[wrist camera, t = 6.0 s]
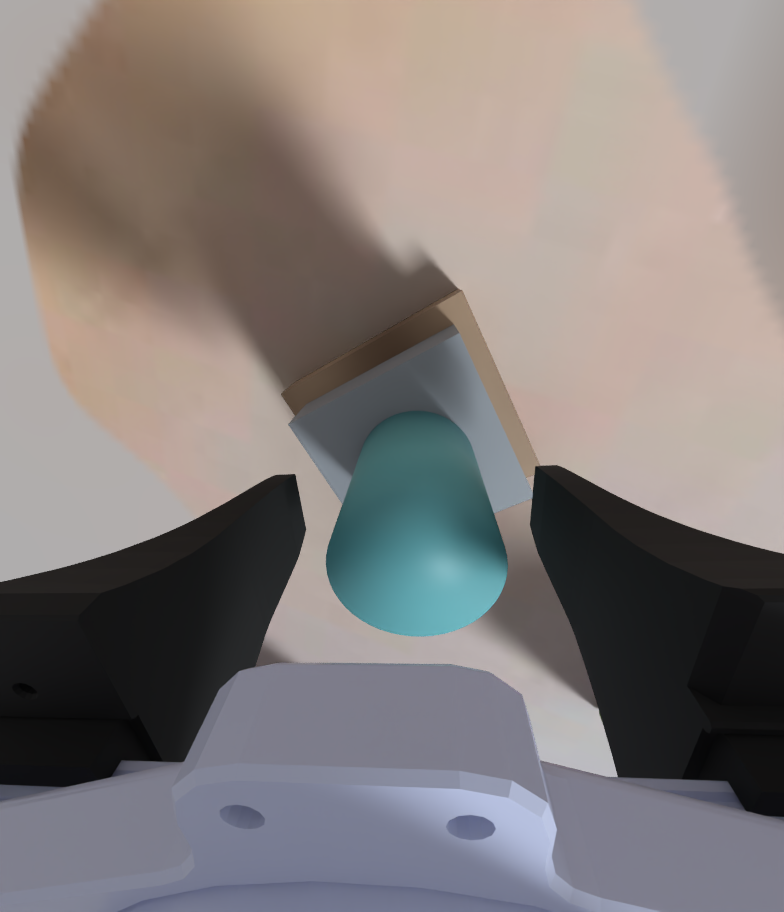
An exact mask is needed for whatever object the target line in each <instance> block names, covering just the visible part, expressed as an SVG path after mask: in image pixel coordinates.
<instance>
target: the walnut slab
mask: <svg viewBox="0 0 784 912" xmlns="http://www.w3.org/2000/svg"><path fill="white" fill-rule="evenodd" d="M453 324H454V325H455V327H456V328H457V330H458V331H459V333H460V335H461V337H462V340H463V342H464V344H465V346H466V348H467V350H468V353H469V355H470V357H471V359H472V361H473V364H474V366H475V368H476V370H477V372H478V374H479V377H480V379H481V381H482V383H483V385H484V387H485V390H486V392H487V394H488V396H489V398H490V401H491V403H492V405H493V407H494V409H495V411H496V414H497V416H498V418H499V420H500V422H501V425H502V427H503V429H504V431H505V433H506V435H507V438H508V440H509V442H510V444H511V446H512V449H513V451H514V453H515V455H516V457H517V459H518V462H519V464H520V466H521V468H522V470H523V472H524V475H525V477H526V478H527V477H530V476H532V475H534V474H535V466H540V464H539V462H538V459H537V457H536V455H535V453H534V450H533V448H532V446H531V444H530V441H529V439H528V437H527V435H526V432H525V430H524V428H523V426H522V423H521V421H520V419H519V417H518V414H517V412H516V410H515V408H514V405H513V403H512V401H511V399H510V396H509V394H508V392H507V390H506V387H505V385H504V383H503V381H502V378H501V376H500V374H499V372H498V369H497V367H496V365H495V363H494V360H493V358H492V356H491V354H490V351H489V349H488V347H487V345H486V342H485V340H484V338H483V336H482V333H481V331H480V329H479V327H478V324H477V322H476V320H475V318H474V316H473V313H472V311H471V309H470V307H469V304H468V302H467V300H466V298H465V295H464V293H463V291H462V290H460V289H457V290H455V291H454V292H452V293H450V294H448V295H447V296H445V297H443V298H441V299H440V300H438V301H436V302H434V303H433V304H431V305H429V306H427V307H426V308H424V309H422V310H420V311H419V312H417V313H415V314H413V315H412V316H410V317H408V318H406V319H405V320H403V321H401V322H400V323H398V324H396V325H394V326H393V327H391V328H389V329H387V330H386V331H384V332H382V333H380V334H379V335H377V336H375V337H373V338H372V339H370V340H368V341H366V342H365V343H363V344H361V345H359V346H358V347H356V348H354V349H352V350H351V351H349V352H347V353H345V354H344V355H342V356H340V357H338V358H337V359H335V360H333V361H332V362H330V363H328V364H326V365H325V366H323V367H321V368H319V369H318V370H316V371H314V372H312V373H311V374H309V375H307V376H305V377H304V378H302V379H300V380H298V381H297V382H295V383H293V384H292V385H291V386H290V387H289V388H287V389H286V390H285V391H284V392H283V393H282V394H281V395H282V397H283V398H284V400H285V401H286V403H287V404H288V405H289V407H290V408H291V410H292V411H293V413H294V414H295V416H296V415H297V414H298V413H299V412H300V410H301V409H302V408H303V407H304V406H305V405H306V404H307V403H309V402H311V401H313V400H315V399H317V398H319V397H320V396H322V395H324V394H326V393H328V392H330V391H331V390H333V389H335V388H337V387H339V386H341V385H343V384H344V383H346V382H348V381H350V380H352V379H354V378H355V377H357V376H359V375H361V374H363V373H365V372H366V371H368V370H370V369H372V368H374V367H376V366H378V365H379V364H381V363H383V362H385V361H387V360H389V359H390V358H392V357H394V356H396V355H398V354H400V353H402V352H403V351H405V350H407V349H409V348H411V347H413V346H414V345H416V344H418V343H420V342H422V341H424V340H426V339H427V338H429V337H431V336H433V335H435V334H437V333H438V332H440V331H442V330H444V329H446V328H448V327H450V326H451V325H453Z"/></svg>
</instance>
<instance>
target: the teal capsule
mask: <svg viewBox="0 0 784 912" xmlns="http://www.w3.org/2000/svg"><path fill="white" fill-rule="evenodd" d="M326 568H327V575H328V578H329V581H330V584H331V586H332V588H333V591H334V592H335V594H336V596H337V597H338V599H339V600H340V601H341V602H342V604H343V605H344V606H345V607H346V608H347V609H348V610H349V611H350V612H351V613H352V614H354V615H355V616H356V617H358V618H359V619H361V620H362V621H364V622H366V623H367V624H369V625H371V626H373V627H376V628H378V629H380V630H384V631H387V632H390V633H394V634H399V635H406V636H434V635H439V634H445V633H448V632H452V631H455V630H457V629H460V628H463V627H465V626H467V625H468V624H470V623H472V622H474V621H475V620H477V619H478V618H480V617H481V616H482V615H483V614H485V613H486V612H487V611H488V610H489V609H490V608H491V607H492V605H493V604H494V603H495V602H496V600H497V599H498V597H499V596H500V594H501V592H502V589H503V587H504V585H505V581H506V577H507V569H508V563H507V554H506V550H505V546H504V543H503V540H502V537H501V534H500V531H499V528H498V525H497V522H496V519H495V515H494V512H493V509H492V506H491V503H490V500H489V497H488V494H487V491H486V488H485V485H484V482H483V479H482V476H481V473H480V470H479V467H478V463H477V460H476V457H475V454H474V451H473V448H472V446H471V443H470V441H469V439H468V438H467V436H466V435H465V433H464V432H463V431H462V430H461V429H460V428H459V427H458V426H457V425H456V424H455V423H453V422H452V421H451V420H449V419H447V418H445V417H443V416H441V415H438V414H436V413H431V412H427V411H408V412H402V413H399V414H396V415H393V416H391V417H389V418H387V419H385V420H384V421H382V422H381V423H380V424H378V425H377V426H376V427H375V428H374V429H373V430H372V431H371V432H370V434H369V435H368V437H367V438H366V440H365V442H364V444H363V447H362V450H361V453H360V456H359V458H358V461H357V464H356V467H355V470H354V473H353V476H352V479H351V481H350V484H349V487H348V490H347V493H346V496H345V499H344V502H343V505H342V507H341V510H340V513H339V516H338V519H337V522H336V525H335V528H334V530H333V533H332V536H331V539H330V542H329V545H328V549H327V554H326Z"/></svg>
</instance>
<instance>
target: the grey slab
mask: <svg viewBox="0 0 784 912" xmlns="http://www.w3.org/2000/svg"><path fill="white" fill-rule="evenodd" d="M408 411H427V412H431V413H436V414H438V415H441V416H443V417H445V418H447V419H449V420H451V421H452V422H453V423H455V424H456V425H457V426H458V427H459V428H460V429H461V430H462V431H463V432H464V433H465V435H466V436H467V438H468V439H469V441H470V443H471V446H472V448H473V451H474V454H475V457H476V460H477V463H478V467H479V470H480V473H481V476H482V479H483V482H484V485H485V488H486V491H487V494H488V497H489V500H490V503H491V506H492V509H493V512H494V513H496V512H499V511H501V510H504V509H506V508H509V507H511V506H514V505H516V504H519V503H521V502H524V501H526V500H529V499H532V497H533V492H532V490H531V488H530V486H529V483H528V481H527V479H526V477H525V475H524V472H523V470H522V468H521V466H520V464H519V462H518V459H517V457H516V455H515V453H514V451H513V449H512V446H511V444H510V442H509V440H508V438H507V435H506V433H505V431H504V429H503V427H502V425H501V422H500V420H499V418H498V416H497V414H496V411H495V409H494V407H493V405H492V403H491V401H490V398H489V396H488V394H487V392H486V390H485V387H484V385H483V383H482V381H481V379H480V377H479V374H478V372H477V370H476V368H475V366H474V364H473V361H472V359H471V357H470V355H469V353H468V350H467V348H466V346H465V344H464V342H463V340H462V337H461V335H460V333H459V331H458V330H457V328H456V327H455V325H454V324H453V325H451V326H450V327H448V328H446V329H444V330H442V331H440V332H438V333H437V334H435V335H433V336H431V337H429V338H427V339H426V340H424V341H422V342H420V343H418V344H416V345H414V346H413V347H411V348H409V349H407V350H405V351H403V352H402V353H400V354H398V355H396V356H394V357H392V358H390V359H389V360H387V361H385V362H383V363H381V364H379V365H378V366H376V367H374V368H372V369H370V370H368V371H366V372H365V373H363V374H361V375H359V376H357V377H355V378H354V379H352V380H350V381H348V382H346V383H344V384H343V385H341V386H339V387H337V388H335V389H333V390H331V391H330V392H328V393H326V394H324V395H322V396H320V397H319V398H317V399H315V400H313V401H311V402H309V403H307V404H306V405H305V406H304V407H303V408H302V409H301V410H300V412H299V413H298V414H297V415H296V416H295V417H294V418H293V419H292V421H291V422H290V423H289V424H288V425H289V426H290V428H291V429H292V431H293V432H294V434H295V435H296V437H297V438H298V440H299V441H300V443H301V444H302V445H303V447H304V448H305V450H306V451H307V453H308V454H309V456H310V457H311V459H312V460H313V462H314V463H315V465H316V466H317V467H318V469H319V470H320V472H321V473H322V475H323V476H324V478H325V479H326V481H327V482H328V484H329V485H330V487H331V488H332V490H333V491H334V492H335V494H336V495H337V497H338V498H339V500H340V501H341V503H342V504H343V502H344V499H345V496H346V493H347V490H348V487H349V484H350V481H351V479H352V476H353V473H354V470H355V467H356V464H357V461H358V458H359V456H360V453H361V450H362V447H363V444H364V442H365V440H366V438H367V437H368V435H369V434H370V432H371V431H372V430H373V429H374V428H375V427H376V426H377V425H378V424H380V423H381V422H382V421H384V420H385V419H387V418H389V417H391V416H393V415H396V414H399V413H402V412H408Z"/></svg>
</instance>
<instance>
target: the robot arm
mask: <svg viewBox="0 0 784 912" xmlns="http://www.w3.org/2000/svg"><path fill="white" fill-rule="evenodd" d="M530 527H531V530H532V534H533V537H534V541H535V544H536V547H537V551H538V554H539V556H540V558H541V561H542V563H543V565H544V567H545V569H546V572H547V574H548V576H549V578H550V580H551V582H552V585H553V587H554V589H555V591H556V593H557V595H558V597H559V600H560V602H561V604H562V606H563V608H564V610H565V613H566V615H567V617H568V619H569V622H570V624H571V626H572V629H573V631H574V634H575V637H576V640H577V643H578V646H579V649H580V652H581V655H582V658H583V661H584V664H585V666H586V670H587V673H588V676H589V679H590V682H591V685H592V689H593V692H594V695H595V698H596V701H597V705H598V708H599V711H600V715H601V718H602V722H603V725H604V729H605V732H606V735H607V739H608V742H609V746H610V749H611V753H612V756H613V760H614V764H615V767H616V771H617V775H618V777H605V776H601V775H597V774H593V773H589V772H585V771H581V770H577V769H573V768H569V767H565V766H561V765H557V764H553V763H549V762H544V761H540V759H539V755H538V751H537V747H536V742H535V738H534V734H533V730H532V726H531V722H530V719H529V715H528V712H527V709H526V706H525V703H524V700H523V696H522V694H521V693H519V692H518V691H516V690H515V689H513V688H512V687H511V686H509V685H508V684H506V683H505V682H503V681H502V680H501V679H499V678H498V677H496V676H495V675H493V674H492V673H490V672H488V671H483V670H478V669H473V668H467V667H462V666H457V665H452V664H376V663H274V664H269V665H264V666H258V667H255V665H256V662H257V659H258V656H259V653H260V650H261V647H262V643H263V640H264V637H265V634H266V631H267V629H268V626H269V624H270V621H271V618H272V616H273V614H274V612H275V609H276V607H277V605H278V603H279V601H280V598H281V596H282V594H283V592H284V589H285V587H286V585H287V583H288V580H289V578H290V576H291V574H292V571H293V569H294V567H295V564H296V562H297V560H298V557H299V554H300V550H301V547H302V543H303V540H304V536H305V532H306V527H305V522H304V517H303V512H302V506H301V501H300V496H299V491H298V486H297V481H296V476H295V474H288V475H275V476H272V477H270V478H268V479H266V480H264V481H262V482H261V483H259V484H257V485H255V486H254V487H252V488H250V489H248V490H247V491H245V492H243V493H242V494H240V495H238V496H237V497H235V498H233V499H231V500H230V501H228V502H226V503H225V504H223V505H221V506H219V507H217V508H215V509H213V510H212V511H210V512H208V513H206V514H204V515H202V516H201V517H199V518H197V519H195V520H193V521H191V522H189V523H187V524H185V525H182V526H180V527H178V528H176V529H174V530H171V531H169V532H167V533H164V534H162V535H160V536H157V537H155V538H152V539H150V540H147V541H144V542H142V543H139V544H136V545H134V546H131V547H128V548H125V549H123V550H120V551H117V552H114V553H111V554H108V555H105V556H101V557H98V558H95V559H92V560H88V561H85V562H82V563H78V564H75V565H71V566H67V567H63V568H59V569H56V570H52V571H47V572H43V573H39V574H34V575H30V576H26V577H21V578H17V579H13V580H8V581H4V582H0V912H784V554H782V553H778V552H773V551H769V550H765V549H761V548H757V547H753V546H750V545H746V544H742V543H739V542H735V541H732V540H729V539H725V538H722V537H719V536H716V535H712V534H709V533H706V532H703V531H700V530H697V529H694V528H691V527H688V526H685V525H683V524H680V523H677V522H675V521H672V520H670V519H667V518H664V517H662V516H659V515H657V514H654V513H652V512H650V511H647V510H645V509H643V508H641V507H639V506H637V505H634V504H632V503H630V502H628V501H626V500H624V499H622V498H620V497H618V496H616V495H614V494H612V493H610V492H608V491H606V490H604V489H602V488H600V487H598V486H597V485H595V484H593V483H591V482H589V481H587V480H586V479H584V478H582V477H580V476H578V475H576V474H575V473H573V472H571V471H569V470H567V469H565V468H562V467H560V466H557V465H552V466H535V475H534V486H533V497H532V509H531V520H530Z"/></svg>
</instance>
